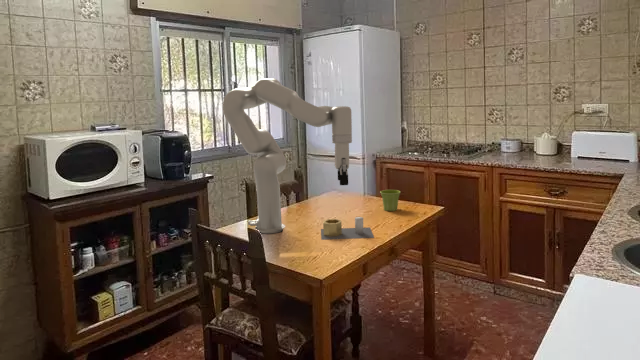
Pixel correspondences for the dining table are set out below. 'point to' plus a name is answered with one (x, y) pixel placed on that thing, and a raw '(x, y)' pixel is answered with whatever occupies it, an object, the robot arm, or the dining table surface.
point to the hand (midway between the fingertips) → (342, 182)
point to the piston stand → (352, 232)
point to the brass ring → (332, 227)
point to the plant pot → (390, 199)
